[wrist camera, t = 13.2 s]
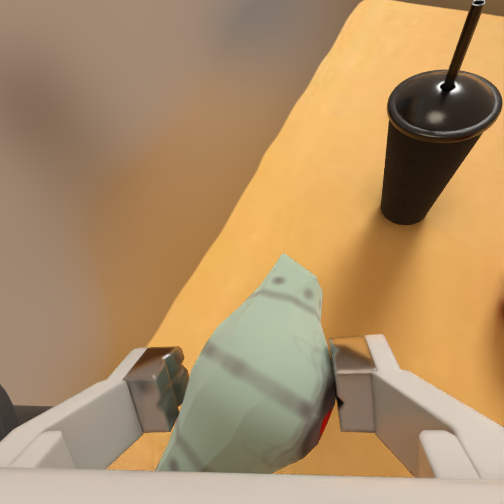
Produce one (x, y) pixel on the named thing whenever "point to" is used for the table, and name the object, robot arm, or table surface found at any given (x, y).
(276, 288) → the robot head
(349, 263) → the table surface
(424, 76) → the drinking cup
